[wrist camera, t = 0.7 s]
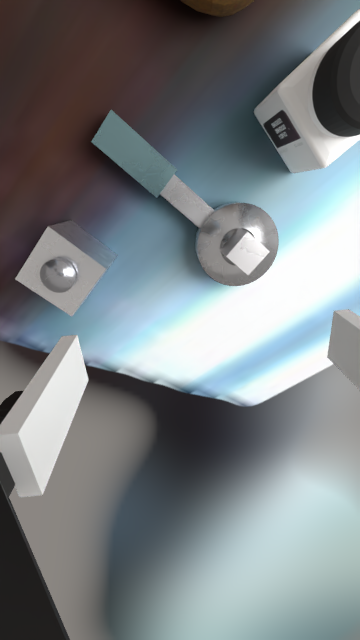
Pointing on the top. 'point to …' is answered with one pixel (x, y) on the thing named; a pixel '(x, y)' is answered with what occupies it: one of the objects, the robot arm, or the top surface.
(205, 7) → the potato
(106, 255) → the cube with chrome knob
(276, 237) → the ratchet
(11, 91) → the top surface
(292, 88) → the container
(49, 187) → the top surface
